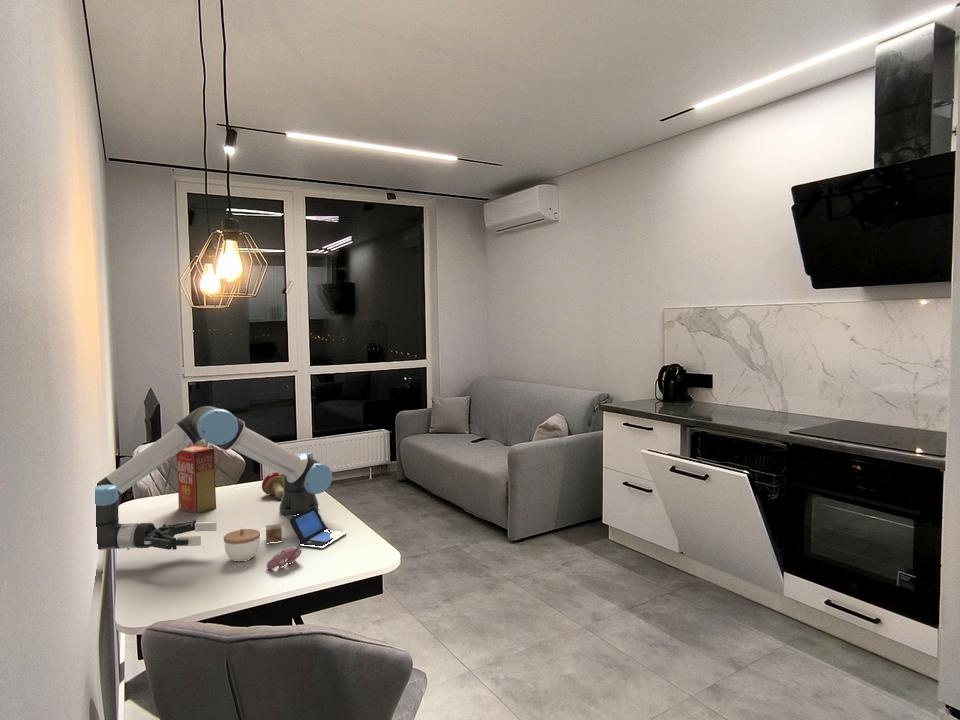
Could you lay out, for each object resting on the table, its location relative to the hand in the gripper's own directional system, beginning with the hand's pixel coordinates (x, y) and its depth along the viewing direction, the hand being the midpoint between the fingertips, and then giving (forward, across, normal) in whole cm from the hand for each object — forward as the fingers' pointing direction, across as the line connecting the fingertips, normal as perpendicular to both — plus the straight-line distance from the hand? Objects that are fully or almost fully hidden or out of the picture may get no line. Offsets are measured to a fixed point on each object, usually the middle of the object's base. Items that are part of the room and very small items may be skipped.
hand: (208, 533), depth 185 cm
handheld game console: (+31, -15, -9) cm, 36 cm away
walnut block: (+16, -15, -8) cm, 24 cm away
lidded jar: (+10, 0, -9) cm, 13 cm away
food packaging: (-25, -58, -9) cm, 64 cm away
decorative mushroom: (+3, -72, -8) cm, 73 cm away
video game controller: (+25, +8, -9) cm, 28 cm away
